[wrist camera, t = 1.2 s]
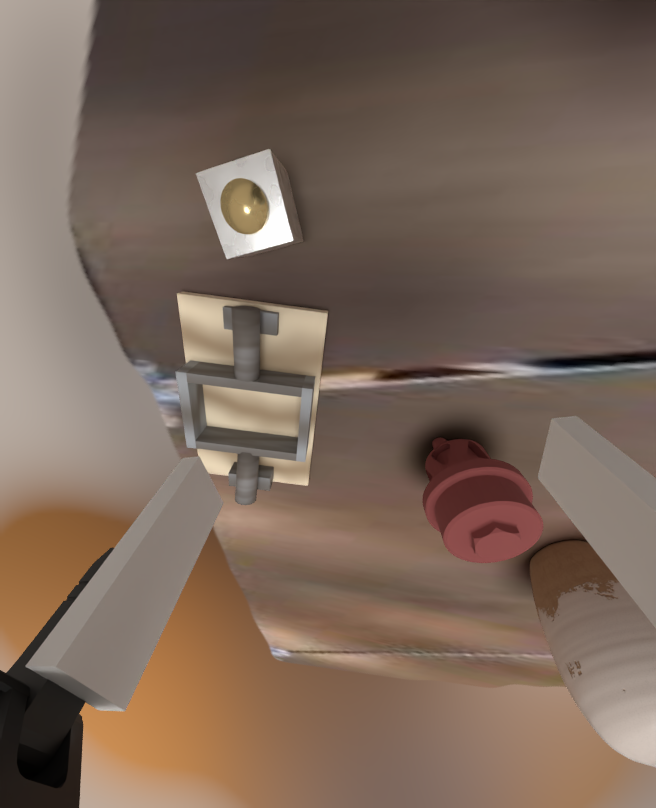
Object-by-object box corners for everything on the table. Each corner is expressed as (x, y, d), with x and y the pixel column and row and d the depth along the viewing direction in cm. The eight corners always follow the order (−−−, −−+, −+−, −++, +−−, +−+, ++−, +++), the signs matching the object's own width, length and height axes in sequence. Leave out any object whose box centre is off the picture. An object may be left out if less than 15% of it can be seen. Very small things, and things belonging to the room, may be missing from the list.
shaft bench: (183, 291, 27) (145, 302, 22) (328, 310, 28) (324, 326, 22) (204, 466, 38) (182, 501, 33) (308, 479, 38) (303, 516, 33)
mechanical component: (441, 495, 39) (392, 453, 36) (510, 454, 35) (462, 403, 32) (478, 592, 28) (413, 543, 25) (585, 549, 24) (523, 485, 21)
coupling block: (228, 189, 23) (191, 171, 18) (287, 170, 23) (267, 145, 17) (250, 256, 26) (223, 259, 20) (304, 241, 25) (291, 240, 19)
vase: (619, 579, 45) (834, 841, 25) (512, 595, 49) (628, 836, 29) (627, 514, 39) (929, 803, 19) (502, 538, 42) (643, 802, 22)
